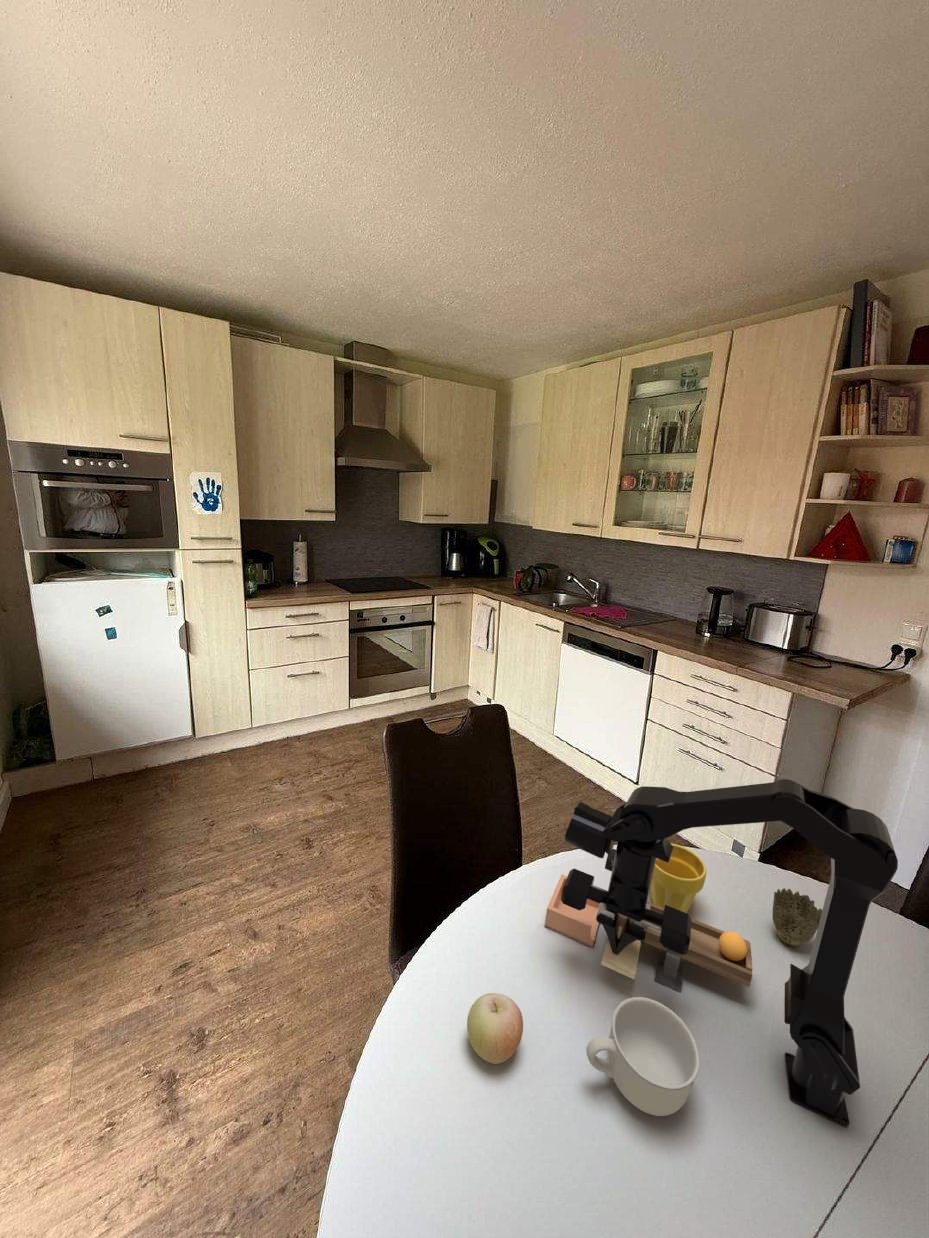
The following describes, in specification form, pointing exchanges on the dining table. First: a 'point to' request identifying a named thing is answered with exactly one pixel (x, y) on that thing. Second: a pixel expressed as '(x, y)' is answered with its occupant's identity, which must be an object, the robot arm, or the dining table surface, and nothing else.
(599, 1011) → the dining table surface
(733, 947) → the ball
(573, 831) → the robot arm
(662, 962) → the seesaw stand
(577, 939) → the peach open tray
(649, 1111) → the teacup
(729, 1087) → the dining table surface
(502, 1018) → the fruit
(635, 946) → the lever
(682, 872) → the plant pot
